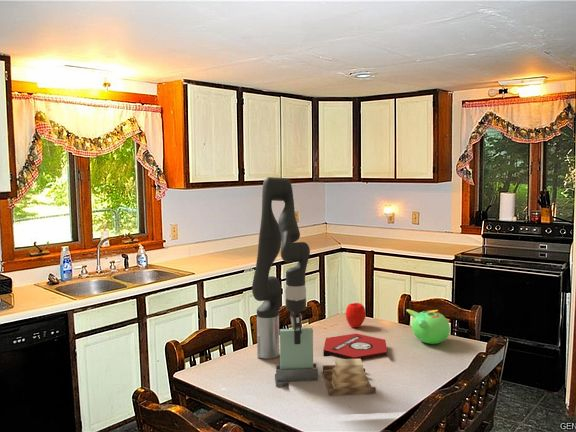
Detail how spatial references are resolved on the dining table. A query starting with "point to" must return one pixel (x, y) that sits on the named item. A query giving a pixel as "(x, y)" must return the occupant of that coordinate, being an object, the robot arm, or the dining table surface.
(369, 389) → the rack
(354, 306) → the apple
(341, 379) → the block
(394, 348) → the dining table surface
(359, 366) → the offcut top
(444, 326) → the toy bird
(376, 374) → the dining table surface
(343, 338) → the plaque
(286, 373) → the stand
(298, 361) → the panel
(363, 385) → the block
